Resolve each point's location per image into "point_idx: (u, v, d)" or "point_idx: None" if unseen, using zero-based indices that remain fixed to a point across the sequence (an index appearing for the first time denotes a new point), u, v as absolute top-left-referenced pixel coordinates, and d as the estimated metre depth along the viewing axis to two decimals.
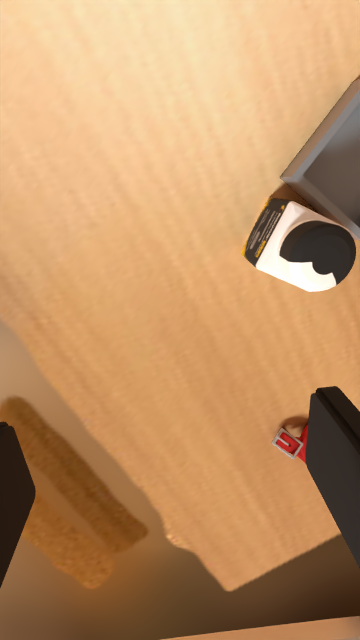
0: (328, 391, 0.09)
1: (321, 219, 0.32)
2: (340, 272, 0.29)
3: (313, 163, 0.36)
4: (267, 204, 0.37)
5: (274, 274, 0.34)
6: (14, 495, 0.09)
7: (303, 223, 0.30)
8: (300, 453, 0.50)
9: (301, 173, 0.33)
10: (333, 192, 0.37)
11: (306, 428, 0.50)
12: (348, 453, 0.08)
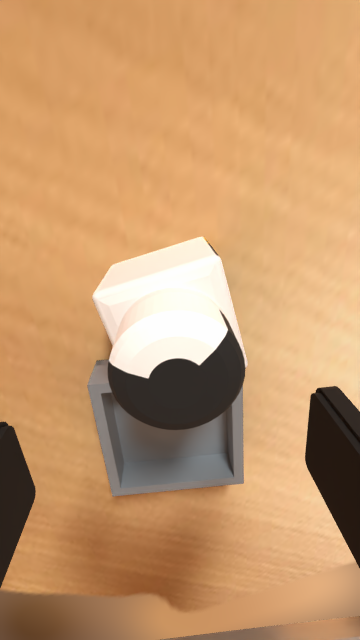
0: (328, 391, 0.09)
1: None
2: (133, 388, 0.14)
3: None
4: None
5: (180, 269, 0.17)
6: (14, 495, 0.09)
7: None
8: None
9: None
10: None
11: None
12: (348, 453, 0.08)
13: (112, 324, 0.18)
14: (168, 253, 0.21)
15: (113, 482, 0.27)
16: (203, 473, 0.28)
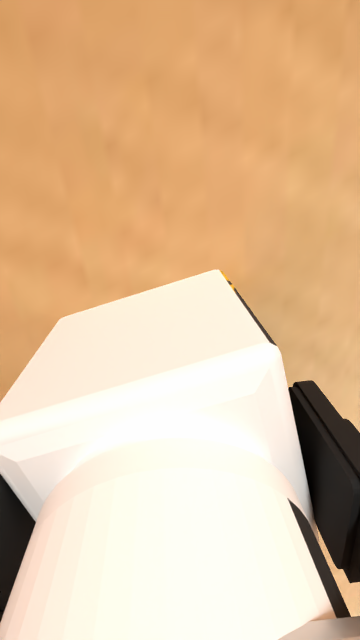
0: (303, 385, 0.10)
1: None
2: None
3: None
4: None
5: (184, 381, 0.07)
6: None
7: None
8: None
9: None
10: None
11: None
12: (318, 443, 0.08)
13: (29, 494, 0.08)
14: (157, 308, 0.11)
15: None
16: None
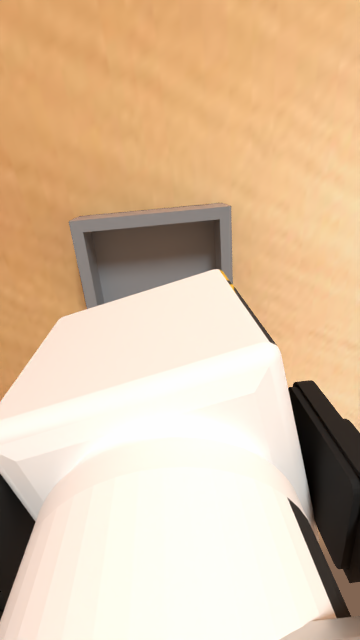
0: (303, 385, 0.10)
1: None
2: None
3: (201, 246, 0.26)
4: None
5: (184, 380, 0.07)
6: None
7: None
8: None
9: (222, 220, 0.23)
10: (150, 241, 0.26)
11: None
12: (318, 443, 0.08)
13: (28, 494, 0.08)
14: (157, 307, 0.11)
15: None
16: None
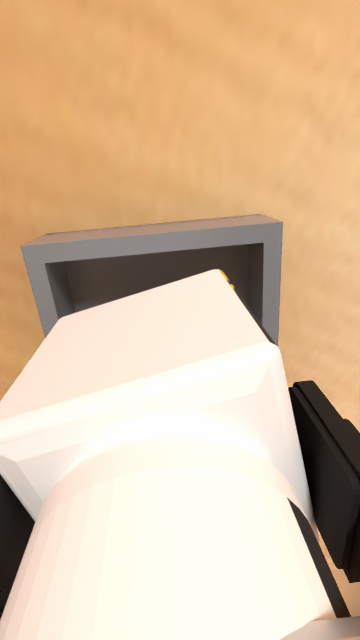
0: (303, 385, 0.10)
1: None
2: None
3: (228, 278, 0.18)
4: None
5: (183, 380, 0.07)
6: None
7: None
8: None
9: (268, 243, 0.14)
10: (153, 272, 0.17)
11: None
12: (318, 443, 0.08)
13: (29, 494, 0.08)
14: (157, 307, 0.11)
15: None
16: None
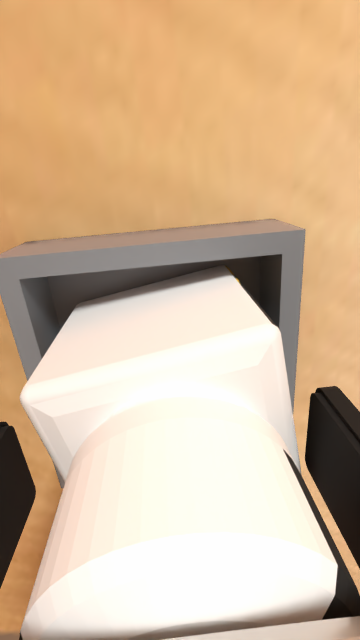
0: (328, 391, 0.09)
1: None
2: None
3: None
4: None
5: (199, 352, 0.08)
6: (14, 495, 0.09)
7: None
8: None
9: (287, 255, 0.12)
10: None
11: None
12: (348, 453, 0.08)
13: (60, 448, 0.09)
14: (170, 296, 0.12)
15: None
16: None
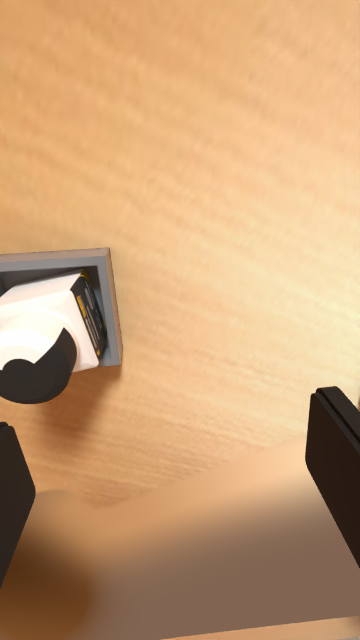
0: (328, 391, 0.09)
1: None
2: None
3: (93, 281, 0.32)
4: (105, 328, 0.33)
5: (43, 298, 0.25)
6: (14, 495, 0.09)
7: None
8: None
9: (99, 265, 0.29)
10: None
11: None
12: (348, 453, 0.08)
13: None
14: (51, 281, 0.29)
15: None
16: None
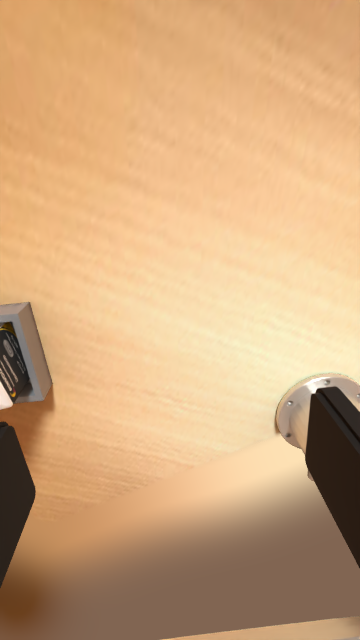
0: (328, 391, 0.09)
1: None
2: None
3: None
4: None
5: None
6: (14, 495, 0.09)
7: None
8: None
9: (14, 321, 0.35)
10: None
11: None
12: (348, 453, 0.08)
13: None
14: None
15: None
16: None
